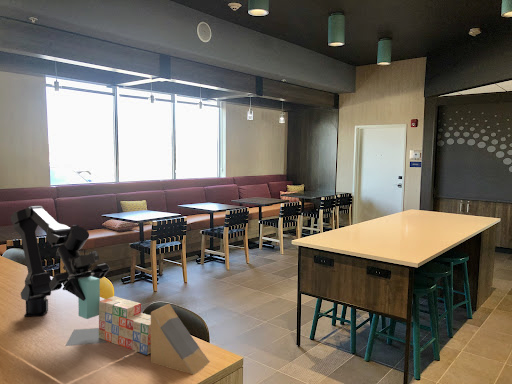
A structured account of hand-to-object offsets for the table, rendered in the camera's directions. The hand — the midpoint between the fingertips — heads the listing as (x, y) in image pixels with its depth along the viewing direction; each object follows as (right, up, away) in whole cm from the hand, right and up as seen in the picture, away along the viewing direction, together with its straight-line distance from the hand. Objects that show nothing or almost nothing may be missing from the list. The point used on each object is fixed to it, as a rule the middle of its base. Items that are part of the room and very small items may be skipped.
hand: (91, 297), depth 127 cm
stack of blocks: (+13, -14, -2) cm, 19 cm away
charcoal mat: (-1, -13, +2) cm, 13 cm away
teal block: (-1, -6, +1) cm, 6 cm away
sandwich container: (+31, -16, -13) cm, 37 cm away
